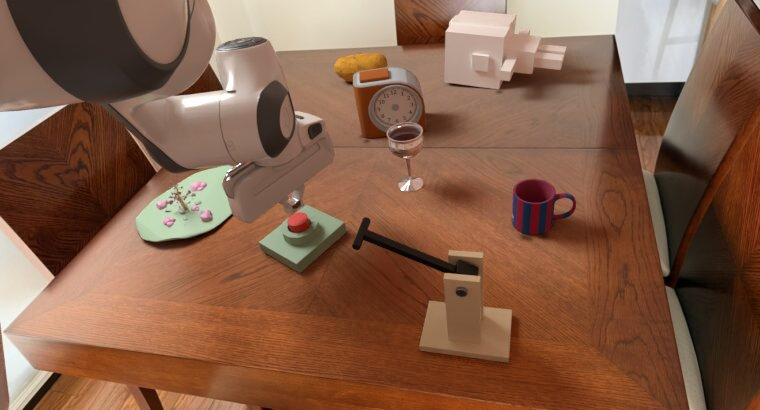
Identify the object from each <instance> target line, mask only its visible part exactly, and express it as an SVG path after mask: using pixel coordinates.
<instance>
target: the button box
mask: <svg viewBox="0 0 760 410" xmlns="http://www.w3.org/2000/svg"><path fill="white" fill-rule="evenodd" d="M298 212H303V213H305V214H307V216H308V219H309V222H310V226H309V228H308V229H307V230H306V231H303V232H301V233H293V232H291V230H290V228H289V225H288V222H287V220H288V218H289V217H290V216H288V217H287V218H286V219H285V220H283V222H282V223H281V224H280V225H278V226H277V227H276V228H274V229H273V230H272V231H271V232H269V233H268V234H267V235H266V236H265V237H263V238H262V239H260V241H258V244H259V248H260V250H261V251H262V252H263V253H265V254H266V255H268V256H269V257H272V258H273V259H274V260H277V261H278V262H280V263H282V264H283V265H285V266H287V267H289V268H290V269H292V270H294V271H295V272H297V273H299V274H301V272H303V271H304V270H305V269H306V268H307V267H308V266H310V265H311V264H312V263H313V262H314V261H315V260H316V259H317V258H319V257H320V256H321V255H322V254H324V252H326V250H327V249H328V248H330V247H331V246H332V245H333V244H334V243H336V241H338V240H339V239H340V238H341V237H342V236H343V235H345V234H346V233H347V226H346V222H344V221H342V220H341V219H338V218H336V217H334V216H333V215H330V214H328V213H325V212H324V211H321V210H319V209H317V208H315V207H313V206H310V205H308V204H304V206H302V207H301V208H300V209H298V210H297V211H296V212H295V213H298Z"/></svg>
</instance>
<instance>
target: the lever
mask: <svg viewBox="0 0 760 410" xmlns="http://www.w3.org/2000/svg"><path fill="white" fill-rule="evenodd" d="M371 222H372V220H371V219H370V218H369V217H366V216H364V217H363V218H362V219H361V223H360V224H359V228H358V230H357V232H356V235H355V237H354V239H353V242H352V245H351V248H352V249H353V250H355V251H360V250H361V248H362V246H363V243H364V242H367V243H369V244H371V245H374V246H377V247H379V248H381V249H384V250H386V251H389V252H391V253H394V254H396V255H399V256H401V257H404V258H406V259H408V260H411V261H413V262H416V263H419V264H421V265H423V266H425V267H428V268H431V269H433V270H435V271H438V272H440V273H443V274H444V273H451V274H462V275H473V276H478V272H479V267H477V266H474V265H472V264H469V263H467V262H464V261H462V260H458V262H457V263H456V265H453V264H451V263H449V262H448V261H446V260H443V259H442V258H441V259H440V258H438V257H436V256H433V255H431V254H428V253H427V252H424V251H421V250H419V249H416V248H414V247H412V246H409V245H407V244H404V243H401V242H399V241H397V240H394V239H392V238H389V237H387V236H385V235H382V234H379V233H377V232H374V231H372V230H370V229H369V227H370V225H371Z"/></svg>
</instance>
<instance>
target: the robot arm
mask: <svg viewBox="0 0 760 410" xmlns="http://www.w3.org/2000/svg"><path fill="white" fill-rule="evenodd" d="M216 26H217V25H216V21H215V17H214V14H213V11H212V8H211V6H210V3H209V1H208V0H0V113H5V112H7V113H8V112H22V111H30V110H40V109H47V108H55V107H62V106H67V105H74V104H80V103H89V104H93V105H99V106H101V107H102V108H103V109H104V110H105V111H106V112H107V113H108V114H110V115H111V116H112V117H113V118H114V119H115V120H116V121H117V122H118V123H119V124H121V125H122V126H123V127H124V129H126V130H127V131H128V132H129V133H130V134H131V135H133V136H134V137H135V138H136V139H137V140H138V141H139V142H140V143H141V144H142V146H143V147H144V149H145V150H146V152H147V154H148V156H150V158H151V160H153V161H154V162H155V163H156V164H157V165H159V166H160V167H161V168H163V169H164V170H166V171H167V172H169V173H171V174H177V175H178V174H184V173H189V172H194V171H198V170H201V169H210V168H216V167H221V166H226V165H229V166H233V165H235V166H233V168H231V169H229V170H228V171H227V175H226V176H225V178H224V180H223V182H222V187H223V189H224V192H225V194H226V195H227V198H228V202H229V206H230V209H231V212H232V216H233V217H234V218H235V219H237V220H239V221H241V222H242V223H246V224H253V223H254V222H256V221H257V220H259V218H261V217H263V216H264V215H265V214H266V213H267V212H269V211H270V210H271V209H273V207H275V206H276V205H278V204H279V205H281V206H282V207H283V210H284V212H285V213H286V214H287V215H289V216H291V215H292V214H294V213H296V212H297V211H299V210H300V209H301V208H303V207H304V206H305V203H304V201H303V197H304V194H305V193H304V192H305V188H306V187H305V184H306V183H307V182H308V181H309V180H311V179H312V178H313V177H315V176H316V175H317V174H319V173H320V172H322V171H323V170H324V169H325V168H327V167H328V166H329V165H331V164H332V163H333V161H334V159H335V155H336V153H335V149H334V148H335V147H334V144H333V141H332V138H331V134H330V133H329V132H328V131H327V123H326V120H325V119H324V118H322V117H319V116H317V115H314V114H311V113H308V112H304V111H300V110H296V111H295V108H294V104H293V101H292V97H291V94H290V89H289V86H288V82H287V79H286V76H285V73H284V70H283V67H282V64H281V61H280V59H279V56H278V55H277V53H276V50H275V48H274V46H273V44H272V43H271V41H270V40H269V39H268V38H266V37H263V36H249V37H248V36H247V37H241V38H235V39H232V40H228V41H225V42H223V43H221V44H219V45H218V46H217V47H216V39H217V37H216V36H217V27H216ZM215 47H216V48H215ZM213 55H214V57H215V62H216V67H217V71H218V77H219V80H220V84H221V86H222V90H221V89H220V90H214V91H213V90H212V91H207V92H198V93H192V94H182V95H179V94H181V93H184V92H185V91H187V90H188V89H189V88H190V87H191V86H193V85H194V84H195V83H196V82H197V81H199V79H200V78H201V76H202V75H203V73H204V72H205V71H206V70H207V67H208V66H209V64H210V62H211V59H212V57H213ZM289 195H291V197H290V198H289ZM1 324H2V323H0V410H9V409H10V393H9V385H8V378H7V376H8V375H7V366H6V359H5V351H4V342H3V341H4V340H3V334H2V325H1Z"/></svg>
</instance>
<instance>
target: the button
mask: <svg viewBox="0 0 760 410" xmlns="http://www.w3.org/2000/svg"><path fill="white" fill-rule="evenodd" d="M288 217H289V218H288ZM288 217H287V218H288V220H287V222H288V225H289V228H290V230H291V232H293V233H301V232H303V231H306V230H307V229H308V228H309V226H310V222H309V219H308V216H307V214H305V213H303V212H298V213H296V212H295V213H294V214H292V215H289V216H288Z"/></svg>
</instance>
